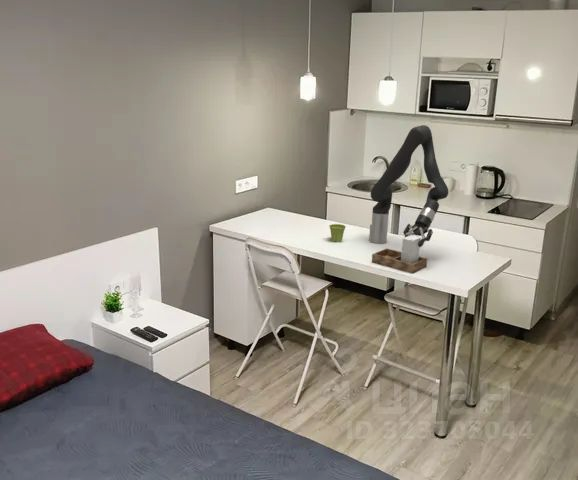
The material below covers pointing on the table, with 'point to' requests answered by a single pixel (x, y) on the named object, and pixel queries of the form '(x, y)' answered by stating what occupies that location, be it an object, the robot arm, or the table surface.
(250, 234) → the table surface
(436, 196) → the robot arm
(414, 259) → the skincare box
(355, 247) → the table surface
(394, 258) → the divided wooden tray
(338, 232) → the plant pot
